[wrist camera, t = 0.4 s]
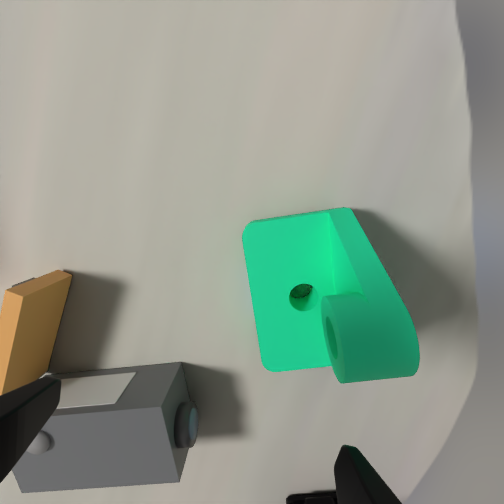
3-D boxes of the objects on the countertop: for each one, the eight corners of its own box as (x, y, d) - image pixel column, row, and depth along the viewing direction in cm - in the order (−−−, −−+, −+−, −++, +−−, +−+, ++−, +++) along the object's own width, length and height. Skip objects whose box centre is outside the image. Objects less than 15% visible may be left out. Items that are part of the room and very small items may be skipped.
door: (73, 274, 22) (21, 297, 17) (47, 374, 24) (-6, 419, 19) (51, 265, 22) (-8, 286, 17) (27, 367, 24) (-31, 410, 19)
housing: (206, 424, 25) (192, 485, 20) (67, 436, 26) (18, 497, 20) (193, 360, 23) (175, 408, 18) (45, 374, 24) (-13, 424, 19)
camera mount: (242, 220, 21) (225, 248, 11) (339, 206, 20) (418, 220, 10) (263, 353, 23) (266, 476, 13) (349, 343, 23) (420, 463, 13)
